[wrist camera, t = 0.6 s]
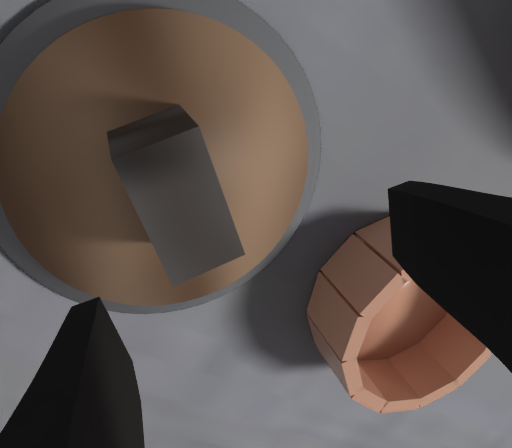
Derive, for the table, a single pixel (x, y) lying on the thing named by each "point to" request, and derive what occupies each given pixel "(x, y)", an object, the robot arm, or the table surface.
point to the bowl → (386, 328)
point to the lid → (151, 156)
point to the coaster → (202, 3)
